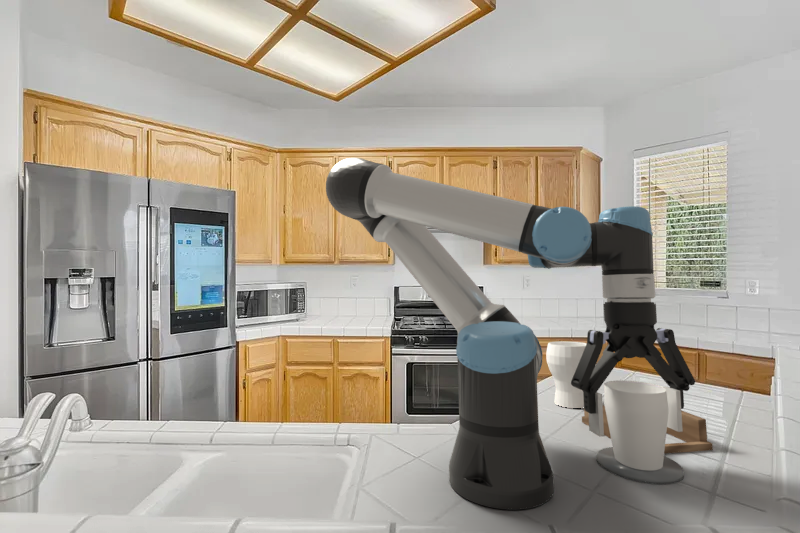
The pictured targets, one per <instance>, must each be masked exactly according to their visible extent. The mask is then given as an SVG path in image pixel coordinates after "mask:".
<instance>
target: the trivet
mask: <svg viewBox="0 0 800 533" xmlns="http://www.w3.org/2000/svg"><path fill="white" fill-rule="evenodd" d="M596 461H597V463H598V465H599V466H600V467H601V468H603V469H604V470H605V471H607V472H610V473H611V474H613V475H615V476H618V477H621V478H624V479H627V480H630V481H633V482H634V481H635V482H638V483H644V484H651V485H671V484H676V483H678V482H681V481H682V480H683V479H684V478H685V470H684V468H683V466H682V465H680V464H679V462H677V461H675V460H673V459H672V458H669V457H667V456H665V455H664V460H663V467H662V468H661V469H659V470H654V471H645V470H638V469H634V468H630V467H627V466H625V465H623V464H621V463H620V462H618V461H617V460H616V459H615V456H614V451H613V446H610V447H605V448H602V449H600V450H597V452H596Z"/></svg>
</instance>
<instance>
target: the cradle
mask: <svg viewBox="0 0 800 533" xmlns="http://www.w3.org/2000/svg"><path fill="white" fill-rule="evenodd" d="M583 412H584V413H583V414H584V415H583V416H581V422H582V423H583V424H584V425H586V426H588V427H589V413H588V412H586V411H585V409H584V408H583ZM681 413H682V430H683V432H678V431H675V430H673V429H671V428H668V427H667V432H666V435H667V434H668V435H670V436H673V437H674V438H677V439H679V440H681V441H683V442H674V443H665V451H664V455H666V454H677V453H680V454H681V453H691V452H707V451H714V445H713V442H711V441H708V432H707V429H708V428H707V419H705V418H703V417H701V416H699V415H695V414H693V413H690V412H688V411H684V410H683V409H681ZM603 425H604V437H605V436H606V438H609V439H611V436H610V431H609V426H608V421H607V416H606V411H605V405H603Z"/></svg>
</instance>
